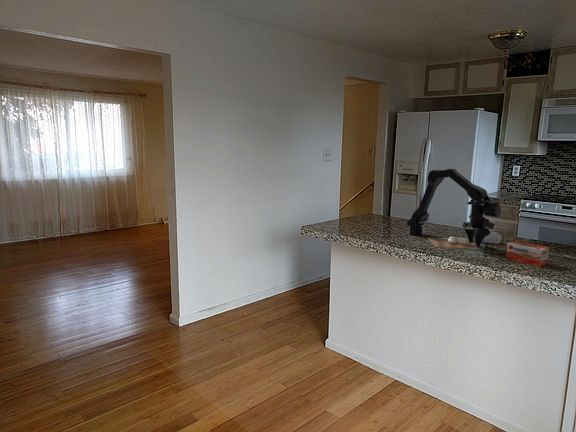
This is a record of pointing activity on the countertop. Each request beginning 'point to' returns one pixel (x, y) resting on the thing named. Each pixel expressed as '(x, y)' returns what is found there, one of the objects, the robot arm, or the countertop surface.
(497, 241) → the tin
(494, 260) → the countertop surface
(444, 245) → the brown board
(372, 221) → the countertop surface
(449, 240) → the peg
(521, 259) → the medicine box
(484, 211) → the robot arm
